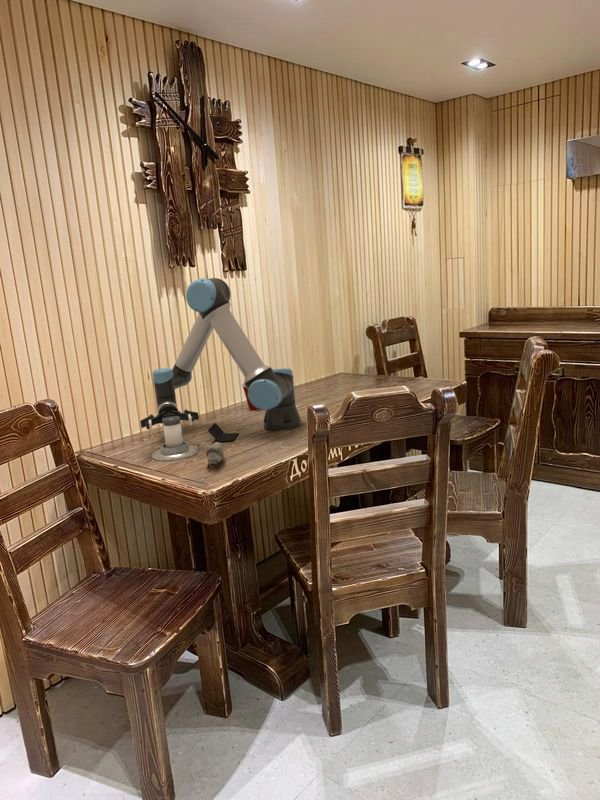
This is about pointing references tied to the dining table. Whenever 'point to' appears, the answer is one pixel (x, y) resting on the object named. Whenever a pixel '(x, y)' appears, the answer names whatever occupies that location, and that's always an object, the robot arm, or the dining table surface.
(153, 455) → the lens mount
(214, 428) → the handheld gaming console
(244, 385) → the plastic cup
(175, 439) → the lens
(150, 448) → the dining table surface
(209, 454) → the decorative bird
